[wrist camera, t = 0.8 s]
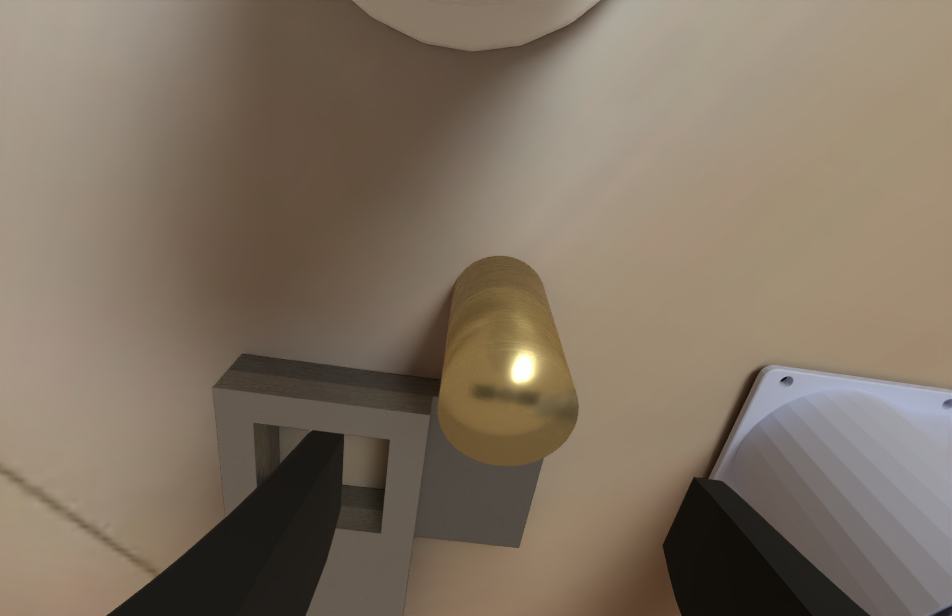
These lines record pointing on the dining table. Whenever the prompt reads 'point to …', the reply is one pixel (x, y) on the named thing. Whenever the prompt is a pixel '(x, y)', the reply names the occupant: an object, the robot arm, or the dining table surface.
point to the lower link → (426, 465)
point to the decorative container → (476, 20)
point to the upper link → (358, 530)
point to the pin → (504, 368)
